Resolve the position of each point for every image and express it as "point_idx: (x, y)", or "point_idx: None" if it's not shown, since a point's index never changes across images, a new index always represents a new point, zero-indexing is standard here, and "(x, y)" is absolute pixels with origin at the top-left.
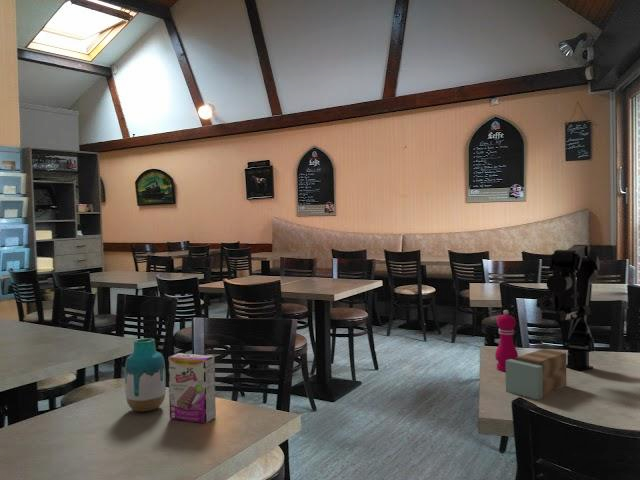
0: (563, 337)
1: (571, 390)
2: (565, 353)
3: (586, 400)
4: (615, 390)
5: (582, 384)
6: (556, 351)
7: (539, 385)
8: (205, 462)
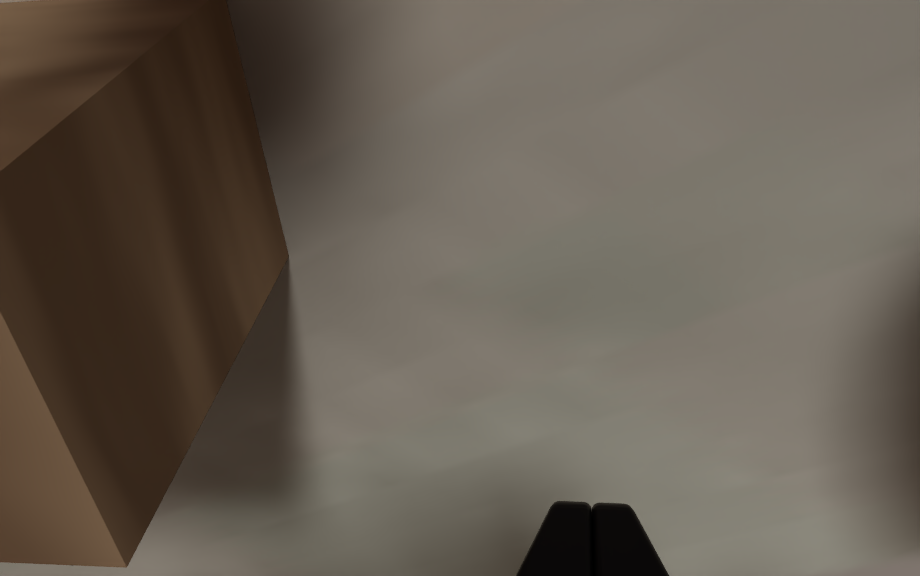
0: (535, 539)
1: None
2: (106, 564)
3: None
4: None
5: (481, 323)
6: (54, 448)
7: None
8: None
